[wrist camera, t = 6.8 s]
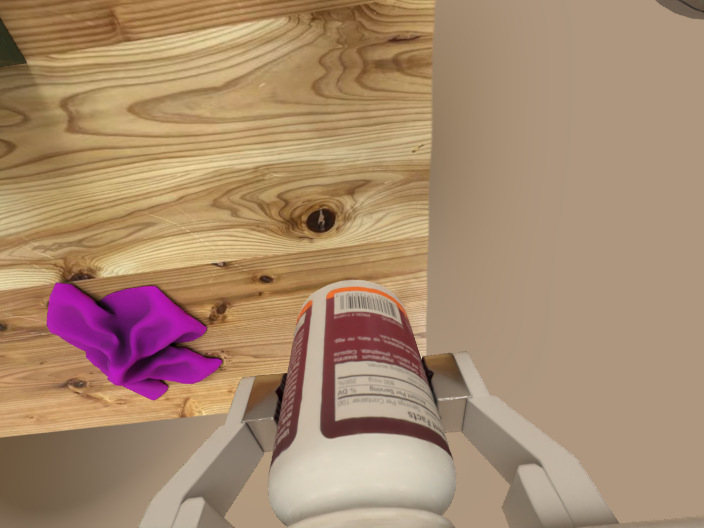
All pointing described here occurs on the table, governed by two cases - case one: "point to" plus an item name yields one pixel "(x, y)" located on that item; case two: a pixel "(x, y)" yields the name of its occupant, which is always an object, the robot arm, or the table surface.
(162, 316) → the cloth
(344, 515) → the pill bottle
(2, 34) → the bin
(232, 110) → the table surface
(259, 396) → the robot arm
